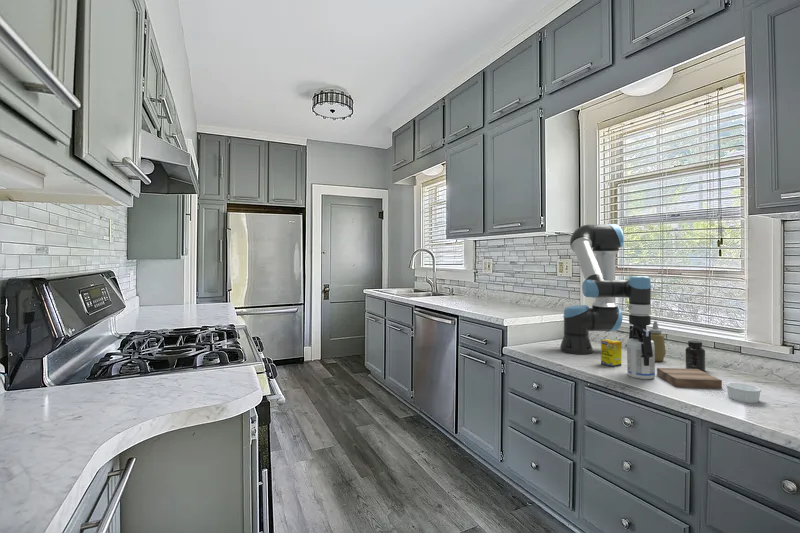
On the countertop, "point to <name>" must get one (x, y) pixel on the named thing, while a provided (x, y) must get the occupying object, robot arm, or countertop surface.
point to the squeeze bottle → (658, 342)
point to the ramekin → (743, 392)
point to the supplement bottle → (695, 356)
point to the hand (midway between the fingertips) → (639, 369)
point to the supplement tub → (638, 360)
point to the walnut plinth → (689, 378)
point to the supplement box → (611, 352)
